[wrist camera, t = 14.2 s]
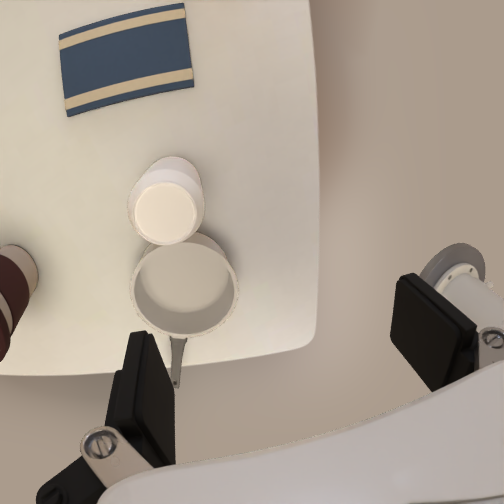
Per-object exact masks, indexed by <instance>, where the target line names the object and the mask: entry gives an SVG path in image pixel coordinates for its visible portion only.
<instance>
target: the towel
mask: <svg viewBox="0 0 504 504" xmlns="http://www.w3.org/2000/svg"><path fill="white" fill-rule="evenodd" d="M59 50H60V60H61V72H62V81H63V90H64V98H65V100H64V102H65V109H66V112H67V117H70V116H74V115H77V114H80V113H83V112H86V111H90V110H93V109H97V108H100V107H104V106H107V105H111V104H115V103H119V102H123V101H127V100H131V99H135V98H139V97H144V96H148V95H153V94H158V93H163V92H168V91H173V90H178V89H184V88H190V87H194V81H193V73H192V66H191V58H190V51H189V43H188V35H187V26H186V18H185V9H184V3H178V4H172V5H166V6H160V7H155V8H150V9H145V10H141V11H136V12H132V13H128V14H124V15H120V16H116V17H113V18H109V19H105V20H102V21H99V22H95V23H92V24H89V25H86V26H83V27H80V28H77V29H74V30H71V31H68V32H65V33H63V34H60V35H59Z"/></svg>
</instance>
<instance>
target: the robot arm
mask: <svg viewBox="0 0 504 504" xmlns="http://www.w3.org/2000/svg"><path fill="white" fill-rule="evenodd" d="M491 288H493V283H492V282H491V281H490V282H487V283H484V282H482V281H481V280H479V276H478V272H477V270H476V269H475V267H474V266H472V265H470V264H468V263H459V264H456V265H455V266H453V267H451V268H450V269H449V270H447V271H446V272H445V273H444V274H443V275H442V276H441V278H440V279H439V280H438V281H437V283H436V285H435V286H434V288H433V287H431V286H430V285H429V284H428V283H426V282H425V281H424V280H423V279H422V278H420V277H419V276H418V275H417V274H415V273H410V274H406V275H403V276H401V277H400V278H399V280H398V281H397V283H396V291H395V300H394V308H393V317H392V324H391V332H390V338H391V341H392V343H393V344H394V345H395V346H396V348H397V349H398V350H399V351H400V353H401V354H402V355H403V356H404V358H405V359H406V360H407V361H408V363H409V364H410V365H411V366H412V368H413V369H414V370H415V371H416V373H417V374H418V375H419V376H420V378H421V379H422V380H423V381H424V383H425V384H426V385H427V387H428V388H429V389H430V390H431V392H432V393H430V394H428V395H426V396H423V397H421V398H419V399H417V400H414V401H412V402H410V403H408V404H405V405H402V406H400V407H398V408H395V409H393V410H390V411H388V412H385V413H382V414H380V415H377V416H375V417H372V418H369V419H366V420H364V421H361V422H358V423H355V424H352V425H349V426H346V427H343V428H340V429H337V430H334V431H330V432H327V433H324V434H320V435H317V436H314V437H310V438H306V439H303V440H299V441H295V442H291V443H287V444H283V445H279V446H275V447H271V448H266V449H261V450H257V451H252V452H247V453H241V454H236V455H231V456H226V457H220V458H214V459H208V460H201V461H194V462H188V463H182V464H176V461H175V412H174V411H175V409H174V408H175V406H174V405H175V402H174V401H175V400H174V399H175V398H174V397H175V396H174V395H175V394H174V388H173V384H172V382H171V380H170V377H169V375H168V372H167V370H166V367H165V365H164V362H163V360H162V357H161V355H160V352H159V349H158V347H157V344H156V341H155V339H154V336H153V334H148V333H147V331H138V332H132V333H130V336H129V340H128V345H127V349H126V354H125V359H124V364H123V369H122V370H117V371H116V372H115V375H114V380H113V384H112V389H111V394H110V399H109V404H108V410H107V415H106V420H105V426H101V427H97V428H94V429H92V430H90V431H89V432H88V433H87V434H85V435H84V437H83V438H82V440H81V443H80V452H81V454H82V456H81V457H80V458H78V459H77V460H76V461H74V462H73V463H72V464H70V465H69V466H68V467H67V468H65V469H64V470H62V471H61V472H60V473H58V474H57V475H56V476H54V477H53V478H52V479H51V480H49V481H48V482H46V483H45V484H44V485H43V486H42V487H41V488H40V489H39V491H38V492H37V496H36V504H504V299H503V298H501V297H500V296H499V295H497V294H496V293H495V292H493V290H490V289H491Z"/></svg>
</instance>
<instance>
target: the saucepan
mask: <svg viewBox="0 0 504 504" xmlns="http://www.w3.org/2000/svg"><path fill="white" fill-rule="evenodd" d="M238 292H239V288H238V280H237V278H236V275H235V272H234V270H233V269H232V267H231V266H230V264H229V263H228V260H227V257H226V255H225V253H224V252H223V250H222V248H221V247H220V246H219V245H218V244H217V243H216V242H215V241H213V240H212V239H211V238H209V237H208V236H205V235H203V234H201V233H198V232H195V233H194V234H193V235H192V236H191V237H189V238H188V239H186V240H184V241H182V242H180V243H177V244H173V245H157V244H153V243H151V244H150V245H149V246H148V247H147V249H146V250H145V252H144V253H143V255H142V258H141V260H140V262H139V264H138V265H137V267H136V268H135V270H134V272H133V275H132V278H131V283H130V297H131V300H132V304H133V307H134V308H135V310H136V312H137V314H138V315H139V316H140V318H141V319H142V320H143V321H144V322H145V323H146V324H147V325H149V326H150V327H151V328H153V329H155V330H156V331H158V332H160V333H163V334H166V335H169V336H170V341H171V350H172V363H171V382H172V384H173V388H179V383H180V373H181V363H182V356H183V351H184V346H185V343H186V342H187V338H189V337H196V336H201V335H204V334H207V333H209V332H211V331H213V330H215V329H217V328H218V327H219V326H221V325H222V324H223V323H224V322H225V321H226V320H227V319H228V318H229V317H230V316H231V314H232V312H233V310H234V309H235V306H236V303H237V300H238Z"/></svg>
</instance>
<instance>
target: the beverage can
mask: <svg viewBox="0 0 504 504" xmlns="http://www.w3.org/2000/svg"><path fill="white" fill-rule="evenodd" d="M127 208H128V216H129V219H130V222H131V224H132V226H133V227H134V229H135V230H136V231H137V233H138V234H139V235H141V236H142V237H143V238H144V239H146V240H147V241H149V242H151V243H153V244H157V245H173V244H177V243H180V242H182V241H184V240H186V239H188V238H189V237H191V236H192V235H193V234H194V233H195V232H196V231H197V229H198V228H199V226H200V225H201V223H202V220H203V217H204V212H205V201H204V196H203V191H202V186H201V181H200V177H199V174H198V172H197V170H196V169H195V167H194V166H193V165H192V164H191V163H190V162H188V161H187V160H185V159H183V158H180V157H165V158H162V159H159V160H158V161H156V162H154V163H153V164H152V165H151V166H150V167H149V168H148V169H147V170H146V172H145V173H144V174H143V175H142V176H141V178H140V179H139V180H138V181H137V183H136V184H135V185H134V187H133V188H132V190H131V192H130V195H129V199H128V206H127Z"/></svg>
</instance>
